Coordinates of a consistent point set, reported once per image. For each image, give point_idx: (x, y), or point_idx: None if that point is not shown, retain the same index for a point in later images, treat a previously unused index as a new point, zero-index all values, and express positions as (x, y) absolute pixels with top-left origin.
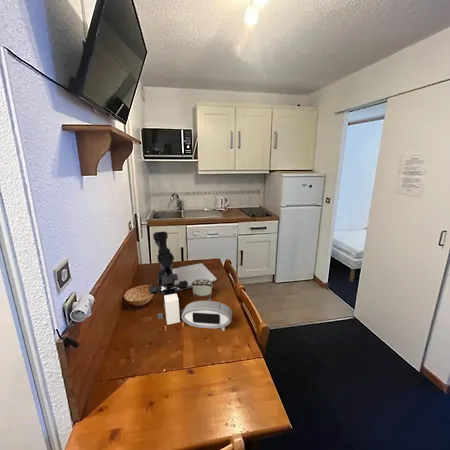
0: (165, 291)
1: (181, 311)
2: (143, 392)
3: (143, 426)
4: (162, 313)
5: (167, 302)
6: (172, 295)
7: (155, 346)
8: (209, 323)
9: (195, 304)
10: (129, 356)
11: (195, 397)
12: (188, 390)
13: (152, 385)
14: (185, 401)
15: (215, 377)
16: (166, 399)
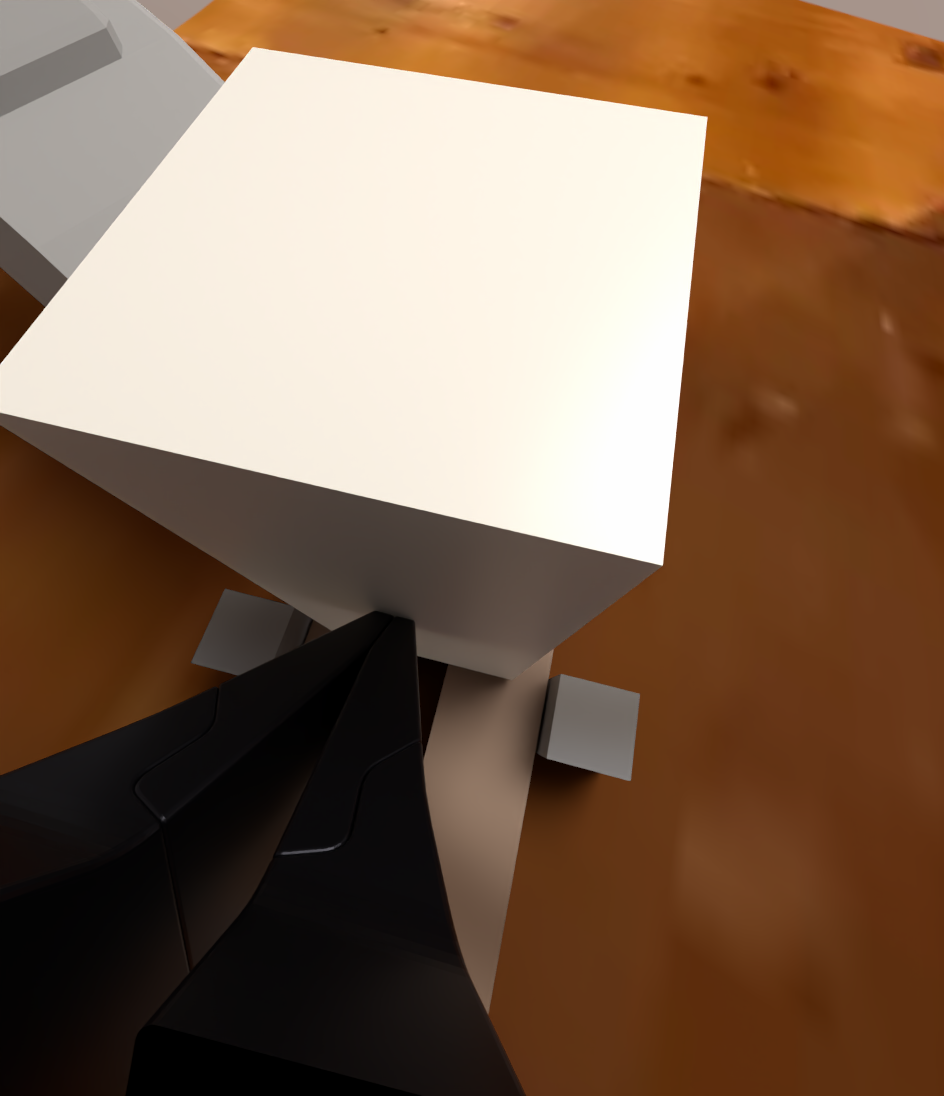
0: (429, 1083)
1: (273, 620)
2: (810, 131)
3: (810, 38)
4: (552, 748)
5: (627, 128)
6: (261, 347)
7: (707, 365)
8: None
9: (44, 14)
10: (926, 372)
11: (573, 34)
12: (590, 62)
13: (761, 140)
14: (621, 38)
15: (438, 55)
16: (701, 71)
